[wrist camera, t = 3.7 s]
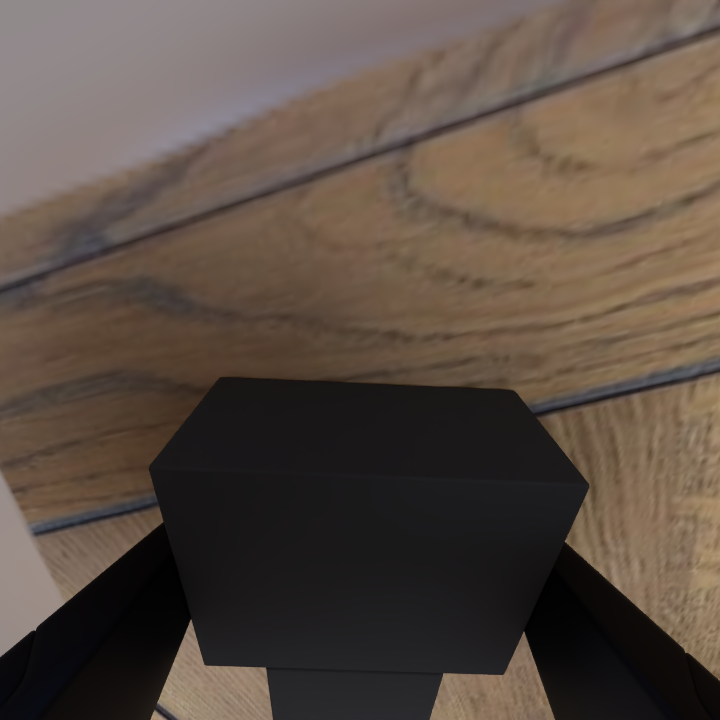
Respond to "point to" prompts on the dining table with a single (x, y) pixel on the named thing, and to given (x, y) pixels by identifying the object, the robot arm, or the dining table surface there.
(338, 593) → the pad piece
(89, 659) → the robot arm
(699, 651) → the dining table surface
